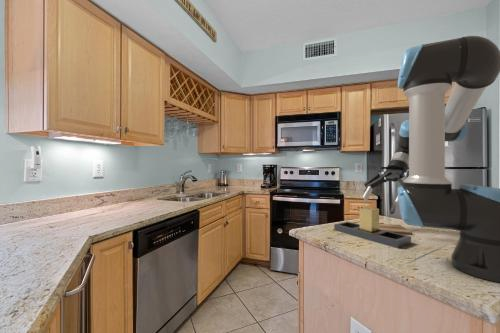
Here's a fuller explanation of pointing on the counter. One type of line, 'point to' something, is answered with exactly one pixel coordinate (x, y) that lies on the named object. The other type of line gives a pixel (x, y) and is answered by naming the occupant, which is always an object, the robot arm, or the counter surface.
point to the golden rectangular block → (369, 219)
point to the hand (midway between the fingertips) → (379, 201)
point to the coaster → (395, 229)
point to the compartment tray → (374, 235)
